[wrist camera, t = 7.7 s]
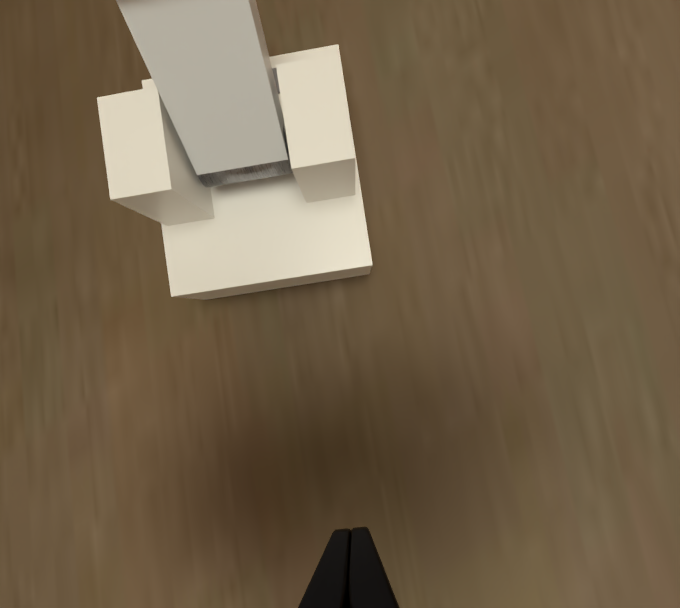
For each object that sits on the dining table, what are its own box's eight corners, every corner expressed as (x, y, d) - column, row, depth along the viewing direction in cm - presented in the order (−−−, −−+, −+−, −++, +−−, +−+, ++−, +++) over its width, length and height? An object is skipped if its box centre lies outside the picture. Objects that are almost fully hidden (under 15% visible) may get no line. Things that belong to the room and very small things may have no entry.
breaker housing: (369, 274, 21) (377, 250, 13) (206, 299, 21) (114, 291, 13) (341, 95, 21) (332, -39, 13) (181, 124, 21) (78, 11, 13)
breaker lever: (295, 185, 15) (214, -148, 9) (202, 200, 15) (52, -114, 9) (296, 157, 17) (228, -134, 10) (213, 171, 17) (96, -105, 11)
